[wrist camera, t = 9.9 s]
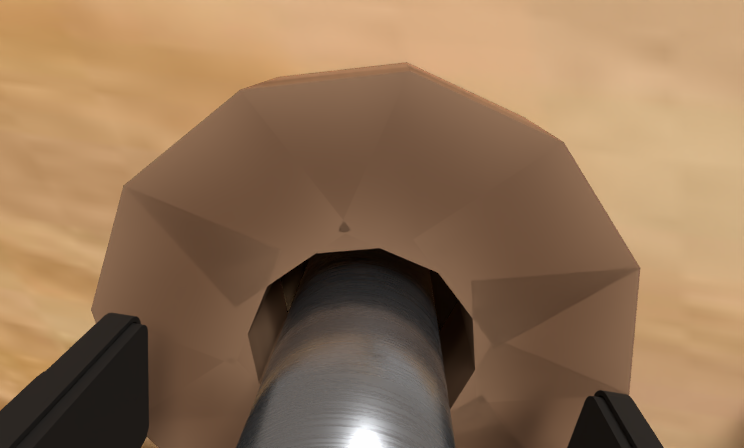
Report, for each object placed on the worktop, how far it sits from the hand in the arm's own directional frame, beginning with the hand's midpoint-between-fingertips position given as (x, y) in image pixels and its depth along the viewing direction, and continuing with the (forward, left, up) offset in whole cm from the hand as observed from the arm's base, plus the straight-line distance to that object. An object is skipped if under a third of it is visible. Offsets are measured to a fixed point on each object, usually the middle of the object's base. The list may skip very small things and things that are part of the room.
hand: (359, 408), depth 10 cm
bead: (0, 0, -5) cm, 5 cm away
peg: (0, 0, -5) cm, 5 cm away
